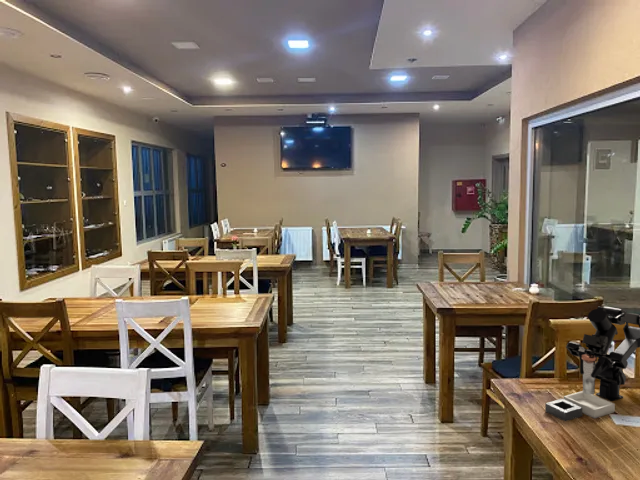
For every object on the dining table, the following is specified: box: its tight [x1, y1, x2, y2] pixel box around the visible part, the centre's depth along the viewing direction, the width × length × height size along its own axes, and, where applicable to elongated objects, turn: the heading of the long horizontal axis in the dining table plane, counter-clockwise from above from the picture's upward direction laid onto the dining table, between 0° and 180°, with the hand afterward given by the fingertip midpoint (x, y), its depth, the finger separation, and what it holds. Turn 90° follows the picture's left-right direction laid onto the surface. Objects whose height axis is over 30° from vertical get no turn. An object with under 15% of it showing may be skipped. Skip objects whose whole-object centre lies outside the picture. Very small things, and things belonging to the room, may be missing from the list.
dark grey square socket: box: [544, 398, 583, 422], centre depth 163 cm, size 8×8×3 cm
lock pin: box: [582, 354, 598, 395], centre depth 165 cm, size 5×5×13 cm
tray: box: [563, 390, 616, 420], centre depth 166 cm, size 10×12×3 cm
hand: (586, 375), depth 164 cm, fingers closed on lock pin, 4 cm apart
